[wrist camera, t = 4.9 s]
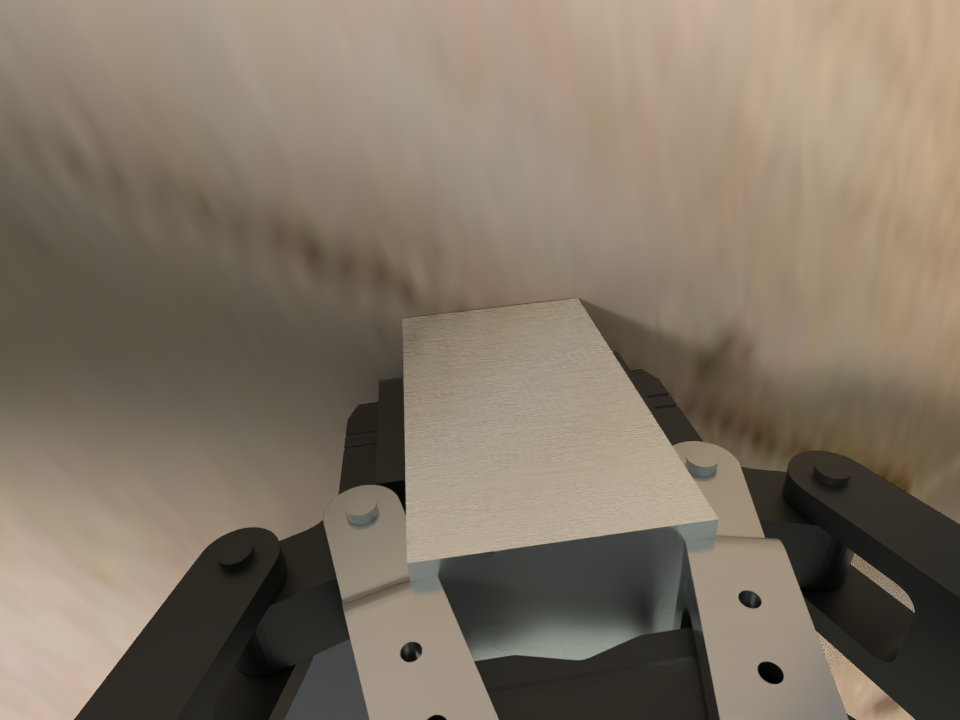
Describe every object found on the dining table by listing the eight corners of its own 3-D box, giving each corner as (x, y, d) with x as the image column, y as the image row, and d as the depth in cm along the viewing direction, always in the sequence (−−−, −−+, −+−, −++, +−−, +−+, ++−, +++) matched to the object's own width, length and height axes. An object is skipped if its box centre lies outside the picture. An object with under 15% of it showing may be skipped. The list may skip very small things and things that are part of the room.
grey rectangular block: (423, 458, 16) (440, 740, 9) (402, 318, 14) (406, 563, 7) (576, 438, 16) (687, 700, 10) (578, 298, 14) (718, 519, 8)
